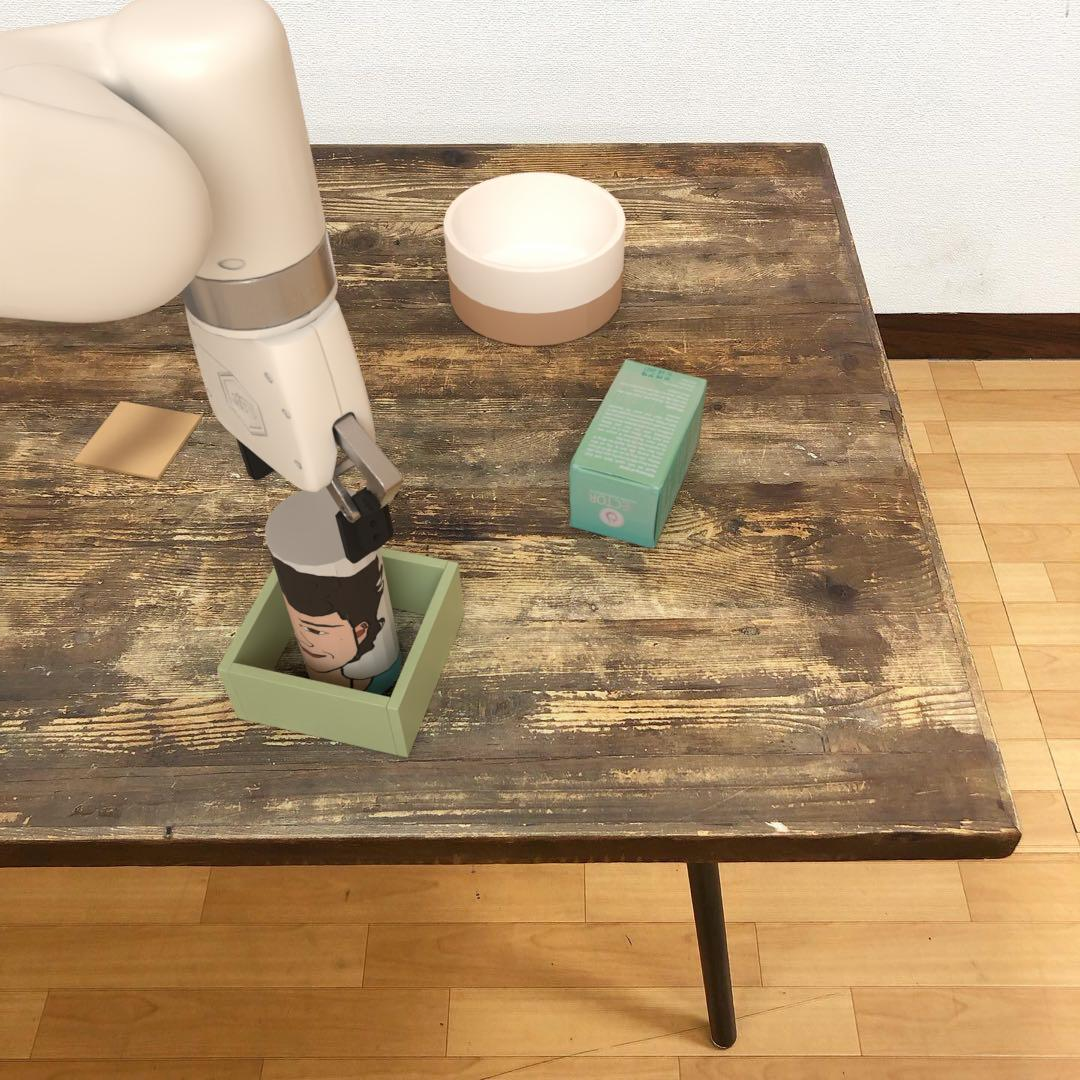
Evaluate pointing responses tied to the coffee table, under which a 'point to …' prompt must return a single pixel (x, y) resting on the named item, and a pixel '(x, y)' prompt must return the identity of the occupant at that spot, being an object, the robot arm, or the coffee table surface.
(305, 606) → the grey printed cylinder
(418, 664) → the crate
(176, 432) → the coaster
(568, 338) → the bowl
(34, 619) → the coffee table surface
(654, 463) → the box
